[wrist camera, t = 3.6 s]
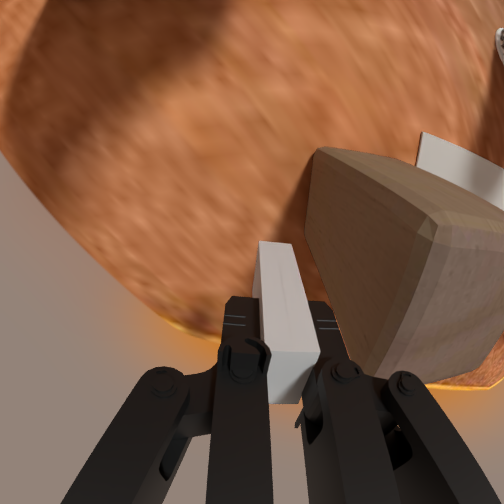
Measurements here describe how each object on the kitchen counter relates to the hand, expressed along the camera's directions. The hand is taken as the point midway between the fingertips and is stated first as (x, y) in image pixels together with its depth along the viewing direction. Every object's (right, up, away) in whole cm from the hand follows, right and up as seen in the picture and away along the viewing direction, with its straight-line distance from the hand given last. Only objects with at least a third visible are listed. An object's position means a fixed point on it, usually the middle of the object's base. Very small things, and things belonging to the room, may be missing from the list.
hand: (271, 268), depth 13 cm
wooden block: (+10, +7, +14) cm, 18 cm away
